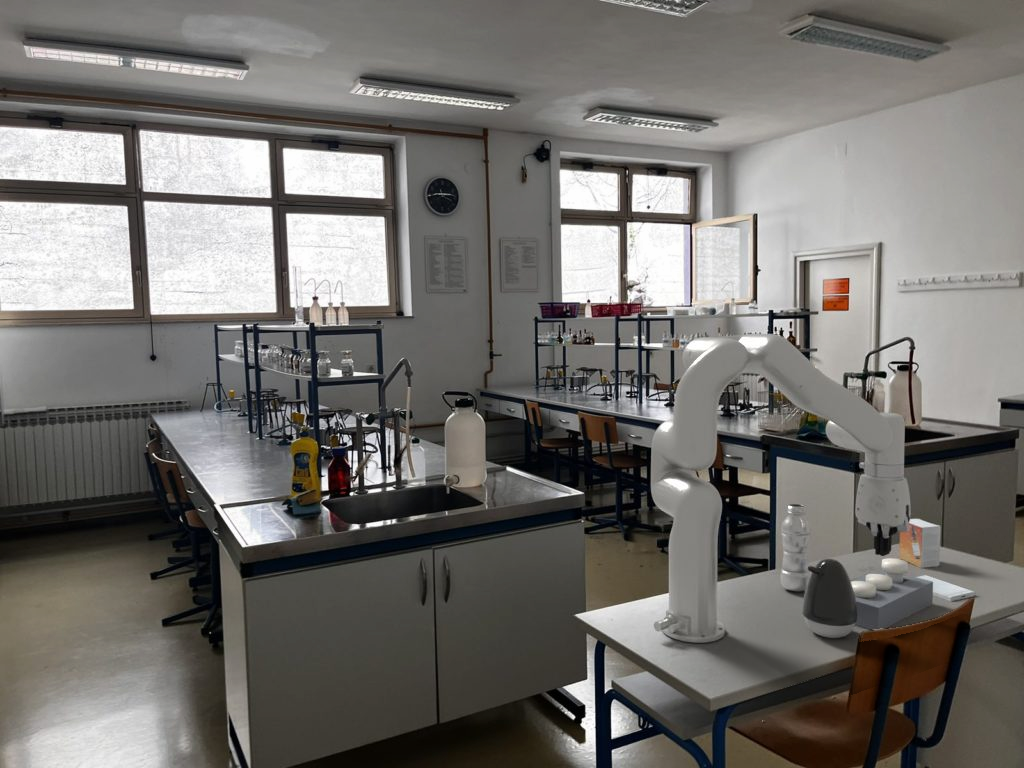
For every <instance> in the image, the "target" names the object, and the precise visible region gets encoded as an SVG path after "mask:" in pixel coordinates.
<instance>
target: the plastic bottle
mask: <svg viewBox="0 0 1024 768" xmlns="http://www.w3.org/2000/svg"><path fill="white" fill-rule="evenodd" d="M786 511H787V514H788V515H787V516H786V517H785V518H784V520H782V522H781V525H780V532H781V533H780V534H781V539H782V550H783V551H782V553H783V554H782V555H783V556H782V557H783V558H782V567H781V570H780V571H781V572H780V575H779V576H780V583H781V585H782V587H783V588H784V589H785V590H788V591H792V592H805V590H806V587H807V584H808V581H809V578H810V576H811V571H809V570H808V566H810V565H809V547H810V546H809V545H810V539H811V538H810V537H811V533H812V528H811V525H810V523H809V521H808V519H806V517H805V515H806V506H805V504H801V503H789V504H788V505H787V510H786Z"/></svg>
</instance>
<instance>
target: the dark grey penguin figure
mask: <svg viewBox="0 0 1024 768" xmlns="http://www.w3.org/2000/svg"><path fill="white" fill-rule="evenodd" d="M808 570H809V572H810V578H809V581H808V584H807V587H806V590H805V591H804V596H803V599H802V600H803V601H802V609H801V610H802V611H801V612H802V615H803V617H804V620H805V621H804V622H805V624H806V625H807V627H808V628H809V629H810V630H811V631H812V632H813V633H815V634H816V635H818V636H821V637H823V638H828V639H840V638H843V637H846V636H848V635H849V634H850V633H851V632H852V631H853V629H854V628H855V626H856V625H855V622H856V621H857V606H856V599H855V594H854V590H853V587H852V584H851V581H850V580H851V579H850V576H849V574H848V571H847V570H846V568H845V567H844V565H843V563H841V562H840V561H838V560H837V559H834V558H824V559H821V560H820V561H818V562H817V564H816V565H815V566H814V565H809V566H808Z"/></svg>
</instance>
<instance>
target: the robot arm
mask: <svg viewBox="0 0 1024 768" xmlns="http://www.w3.org/2000/svg"><path fill="white" fill-rule="evenodd" d="M682 362H683V366H684V368H685V372H684V374H683V375H682V376H681V378H680V380H679V382H678V385H677V387H676V390H675V395H674V406H673V407H674V408H673V417H672V418H671V419H667V420H665V421H664V422H662V423H661V424H659V426H658V427H657V428H656V429H655V432H654V435H653V438H652V439H651V440H652V442H651V454H650V455H651V456H650V458H651V459H650V460H651V461H650V492H651V497H652V500H653V502H654V504H655V506H656V507H657V508H659V510H661V511H662V512H664V513H666V514H667V515H669V516H670V517H672V518H673V522H672V527H671V531H670V534H669V538H668V610H666V611H665V617H663V619H661V620H658V621H655V622H654V623H653V628H654V630H655V631H656V632H658V633H659V632H662V633H664V634H665V635H666V636H667V637H669V638H672V639H674V640H677V641H680V642H685V643H692V644H693V643H696V644H697V643H699V644H701V643H702V644H704V643H712V642H715V641H717V640H720V639H721V638H723V637H724V636H725V633H726V631H725V630H726V628H725V625H724V624H723V622H721V621H720V620H718V538H719V537H718V536H719V528H720V527H719V526H720V522H721V516H722V512H723V503H722V502H723V500H722V497H721V495H720V493H719V491H718V489H717V488H716V487H715V485H713V484H712V483H711V482H709V481H707V480H705V479H704V478H701V477H699V476H697V475H694V473H693V472H702V471H706V470H707V469H709V468H710V467H711V466H713V464H714V462H715V460H716V457H717V451H718V450H717V449H718V444H717V443H718V412H719V410H718V409H719V403H720V399H721V396H722V394H723V392H724V390H725V389H726V387H728V385H729V384H730V383H732V382H733V381H734V380H735V379H736V378H738V377H739V376H741V375H742V374H755V375H756V374H757V375H761V376H762V377H764V378H765V379H766V380H767V381H768V382H769V383H770V384H771V385H772V386H773V387H774V388H776V389H777V391H779V392H780V394H782V395H783V396H784V397H785V398H787V399H788V400H789V401H790V403H791V404H793V405H794V406H796V407H797V408H799V409H802V410H803V411H805V412H807V413H810V414H812V415H814V416H818V417H821V418H823V419H824V420H826V421H827V420H828V422H827V423H826V425H825V434H826V437H827V438H828V440H829V441H830V442H831V443H832V444H834V445H836V446H837V447H840V448H844V449H848V450H851V451H852V450H853V451H859V452H863V453H864V461H860V462H859V464H858V466H859V468H860V469H863V473H862V474H861V475H860V478H859V481H858V485H857V490H856V491H857V492H856V496H855V497H856V499H855V509H854V510H855V512H854V513H855V517H856V518H857V522H858V523H859V524H861V525H864V526H865V527H867V528H868V529H869V531H870V532H871V535H872V536H874V537H873V549H874V550H875V551H874V553H875V555H876V556H881V557H885V556H888V555H889V554H890V553H891V551H892V538H893V537H894V536H895V535H896V534H897V533H900V532H907V531H909V530H910V528H909V522H910V519H911V515H912V513H911V511H912V510H911V496H910V487H909V484H908V480H907V478H906V477H904V475H905V473H904V471H905V433H906V431H905V430H906V428H905V427H906V424H905V418H904V416H903V415H901V414H899V413H894V412H884V411H883V412H879V411H878V410H877V409H876V407H875V408H874V406H872V405H871V404H870V403H869V402H868V401H866V400H865V399H864V398H862V397H861V396H859V395H858V394H857V393H854V392H853V391H851V390H850V389H848V388H846V387H845V386H843V385H842V384H840V383H838V382H837V381H835V380H833V379H831V378H830V377H828V376H827V375H825V373H823V372H822V371H821V370H820V369H819V368H818V367H817V366H816V365H815V364H814V363H813V362H812V361H810V359H809V358H808V357H806V356H805V355H804V354H803V353H802V352H801V351H800V350H799V349H798V348H797V347H796V346H794V345H793V344H792V343H791V342H790V341H789V340H787V338H785V337H784V336H782V335H779V334H774V333H746V334H735V335H722V336H721V335H720V336H705V337H697V338H695V339H693V340H691V341H690V342H689V343H688V344H687V345H686V346H685V348H684V350H683V353H682Z"/></svg>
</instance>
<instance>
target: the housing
mask: <svg viewBox="0 0 1024 768" xmlns="http://www.w3.org/2000/svg"><path fill="white" fill-rule="evenodd" d="M868 574H881V575H886V571H884V570H882V568H879V567H878V568H876V569H874V570H871V571H869V572H867V573H863V574H861V575H859V576H857V577H854V578H852V579H850V581H851V582H852V581H864V582H866V575H868ZM916 577H917V576H911V575H909V574H905V573H904V574H903V583H902V584H897V583H893V582H892V589H890V590H886V591H884V592H883V591H880V590H876V596H875V597H872V598H869V599H864V598H861V597H857V596H855V599H856V606H857V621H856V622H855V625H854V626H857V627H861V628H864V629H867V630H870V629H880V628H885V629H887V628H889V627H891V626H893V625H895V624H897V623H898V622H900V621H902V620H904V619H906V618H907V617H910V616H911V615H913V614H915V613H918V612H919V611H922V610H923V609H925V608H927V607H929V606H931V605H933V597H934V595H933V581H929V580H925V579H921V578H916ZM886 627H887V628H886Z"/></svg>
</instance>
